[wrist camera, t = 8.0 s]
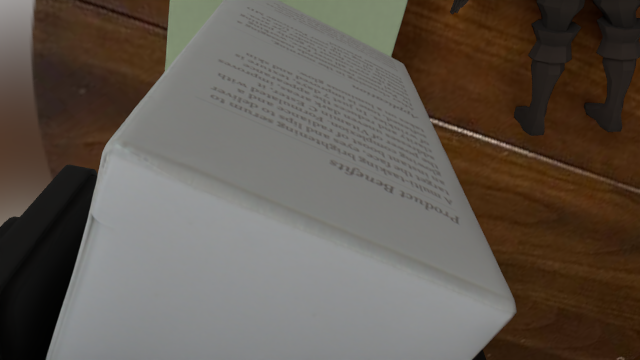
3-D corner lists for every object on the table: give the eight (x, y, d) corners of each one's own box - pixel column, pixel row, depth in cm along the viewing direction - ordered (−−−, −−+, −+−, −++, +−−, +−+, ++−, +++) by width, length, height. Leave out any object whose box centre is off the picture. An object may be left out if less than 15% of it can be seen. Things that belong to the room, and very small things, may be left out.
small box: (298, 248, 19) (280, 580, 10) (153, 192, 18) (-15, 514, 9) (410, 59, 16) (538, 319, 6) (237, -28, 14) (97, 144, 5)
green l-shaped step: (189, -95, 27) (127, -81, 18) (409, -42, 28) (447, -5, 20) (169, 166, 35) (118, 261, 26) (341, 198, 36) (346, 299, 28)
